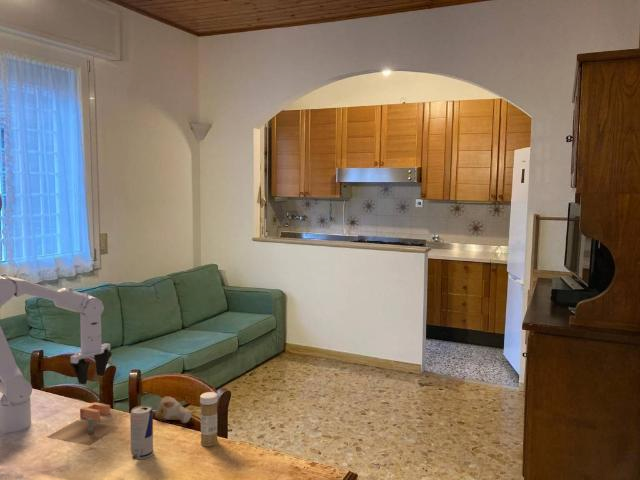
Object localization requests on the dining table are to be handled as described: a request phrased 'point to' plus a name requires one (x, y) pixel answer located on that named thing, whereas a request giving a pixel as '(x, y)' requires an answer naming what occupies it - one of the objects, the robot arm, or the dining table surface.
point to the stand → (82, 432)
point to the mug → (172, 410)
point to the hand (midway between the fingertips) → (91, 379)
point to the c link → (94, 410)
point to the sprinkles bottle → (208, 418)
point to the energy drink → (141, 432)
